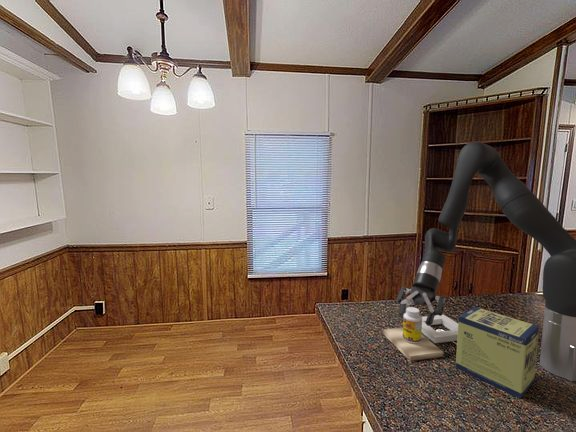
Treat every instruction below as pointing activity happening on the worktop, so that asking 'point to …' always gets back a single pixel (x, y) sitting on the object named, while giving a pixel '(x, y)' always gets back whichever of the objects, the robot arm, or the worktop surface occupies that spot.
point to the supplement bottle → (412, 325)
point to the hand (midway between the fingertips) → (413, 320)
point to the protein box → (497, 350)
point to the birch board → (413, 345)
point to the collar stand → (442, 335)
